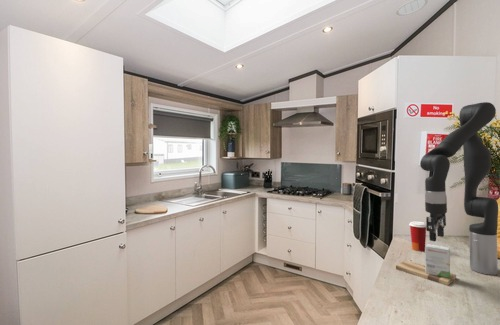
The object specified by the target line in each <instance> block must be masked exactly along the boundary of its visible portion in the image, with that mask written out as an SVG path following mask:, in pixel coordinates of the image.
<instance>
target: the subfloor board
mask: <svg viewBox="0 0 500 325" xmlns="http://www.w3.org/2000/svg"><path fill="white" fill-rule="evenodd" d="M395 270H397V271H401V272H404V273H406V274H407V273H408V274H410V275H414V276H416V277H420V278H423V279H426V280H429V281H432V282H435V283H438V284H442V285H445V286H446V287H447V286H449V285H450V284H451V283H452V282H454V281H455V280H456V279H457V274H454V273H452V272H450V278H446V277H441V276H436V275H432V274H427V273H426V272H425V264H420V263H416V262H413V261H409V260H407V259H405V260H404V261H402V262H400V263H398V264H397V265H396V264H395Z"/></svg>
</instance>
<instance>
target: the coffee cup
mask: <svg viewBox="0 0 500 325" xmlns="http://www.w3.org/2000/svg"><path fill="white" fill-rule="evenodd" d="M408 226H409V227H410V239H411V248H412V250H413V251H417V252H425V245H426V242H427V241H426V237H427V230H426V222H423V221H418V220H417V221H416V220H415V221H414V220H413V221H410V222H409V224H408Z"/></svg>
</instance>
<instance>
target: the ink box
mask: <svg viewBox="0 0 500 325" xmlns="http://www.w3.org/2000/svg"><path fill="white" fill-rule="evenodd" d="M450 253H451V248H450V247H449V246H448V247H447V246H441V245H436V244H429V243H425V251H424V262H425V264H424V266H425V272H426V273H427V274H432V275H436V276H441V277H446V278H450V273H451V254H450Z"/></svg>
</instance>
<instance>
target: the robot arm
mask: <svg viewBox="0 0 500 325" xmlns="http://www.w3.org/2000/svg"><path fill="white" fill-rule="evenodd" d="M496 113H497V110H496V107H495V105H494V104H493V103H491V102H488V101H485V102H479V103H478V102H477V103H472V104H468V105H464V106H462V108H461V109H460V111H459V117H458V118H459V127H458V128H456V129H455V130H453V131H452V132H450V133H448V134H447V135H446V136H445V137H444V138H443V139H442V140H441V141H440V142H439V144H438V145H437V146H435V147H434V148H432V149H431V150H430V151H428V152H427V153H426V154H424V155H423V156H422V157H421V160H420V162H419V164H420V165H419V166H420V168H421V169H422V170H424V171H425V172H433V174H432V176H428V177H426V178H425V180H424V181H425V182H424V183H425V189H424V190H425V193H424V207H425V212H427V213H429V216H426V218H425V219H426V220H425V221H426V222H425V224H426V232H428V234H429V241H431V242H437V236H438V237H440V238H442V237H445V233H444V231H445V230H444V228H445V227H446V226H447V219H446V213H448V206H447V205H448V202H447V192H446V191H447V190H446V181H447V177H448V174H449V172H450V171H449V170H450V168H451V163H450V159H449V158H452V157H454V155H455V154H457V152H458V151H459V150H460V149H461V148H462V147H463V148H462V149H463V168H464V169H463V170H464V196H463V197H464V198H463V209H464V212H465V214H466V215H467V216H469V217H476V218H481V219H483V220H484V221H482V222H478V223H471V224H470V225H469V227H468V231H469V232H468V233H469V236H468V237H469V268H470V269H471V270H472V271H473V272H476V273H479V274H484V275H494V276H495V275H498V274H499V273H498V271H499V270H498V269H499V268H498V262H499V261H498V224H499V223H498V221H499V218H498V217H499V204H498V201H497V199H496V198H493V197H488V196H487V197H485V196H478V195H477V193H478V192H477V191H478V187H479V185H480V184H481V182H482V181H483V180H484V179H485V178H486V176H487V175H488V174H489V172H490V171H491V169H492V157H491V156H492V155H491V151H490V149H489V148H488V147H487V146H486V145H485V143H484V142H483V140H482V139H481V138H480V136H479V134H478V133H479V132H480V130H482V129H483V128H484V127H486V125H488V124H489V123H490V122H491V121H493V119H494V118H495V116H496Z"/></svg>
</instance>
